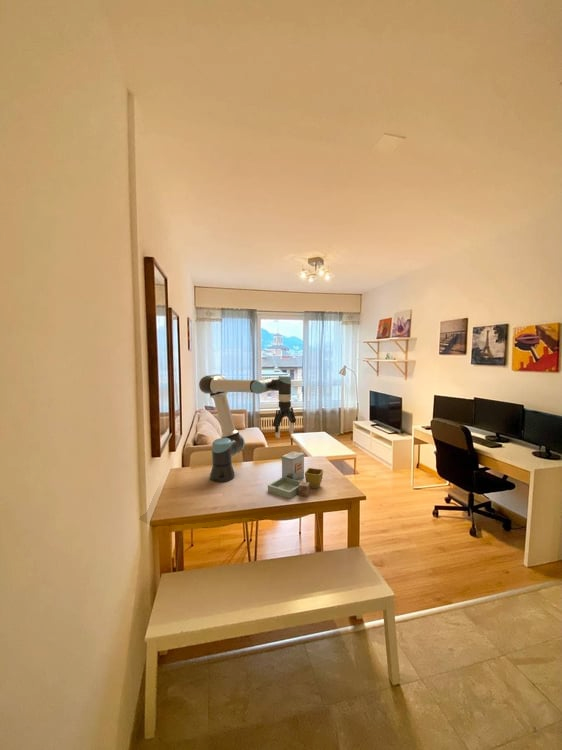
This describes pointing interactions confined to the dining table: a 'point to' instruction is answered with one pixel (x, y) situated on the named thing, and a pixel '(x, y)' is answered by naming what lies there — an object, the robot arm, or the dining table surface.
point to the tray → (284, 487)
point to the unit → (293, 465)
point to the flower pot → (314, 477)
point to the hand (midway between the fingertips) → (284, 435)
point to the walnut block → (304, 489)
